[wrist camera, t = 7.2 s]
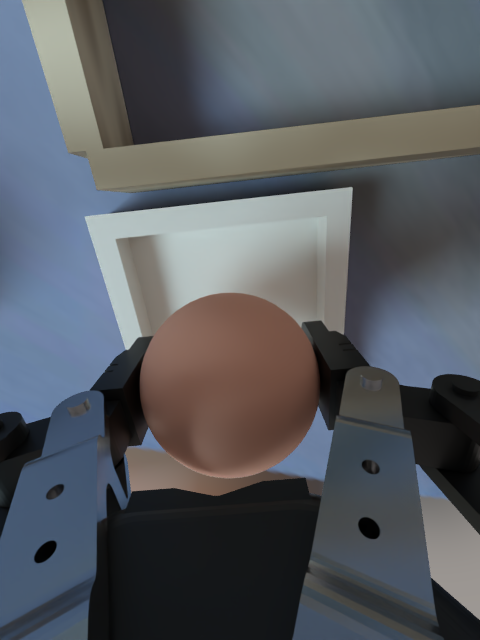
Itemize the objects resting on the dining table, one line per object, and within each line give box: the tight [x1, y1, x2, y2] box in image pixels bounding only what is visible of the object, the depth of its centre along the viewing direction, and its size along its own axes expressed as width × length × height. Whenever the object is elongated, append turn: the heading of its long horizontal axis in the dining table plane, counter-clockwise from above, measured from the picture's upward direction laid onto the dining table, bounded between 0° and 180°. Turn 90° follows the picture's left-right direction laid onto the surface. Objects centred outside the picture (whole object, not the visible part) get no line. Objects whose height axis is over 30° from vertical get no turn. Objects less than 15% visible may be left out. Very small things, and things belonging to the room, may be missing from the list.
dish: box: [85, 187, 353, 350], centre depth 14 cm, size 11×11×2 cm
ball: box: [139, 293, 320, 478], centre depth 9 cm, size 6×6×6 cm
